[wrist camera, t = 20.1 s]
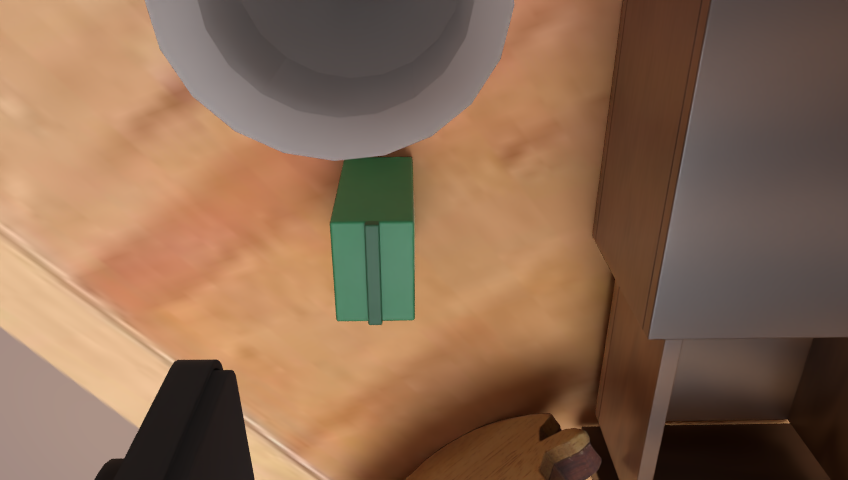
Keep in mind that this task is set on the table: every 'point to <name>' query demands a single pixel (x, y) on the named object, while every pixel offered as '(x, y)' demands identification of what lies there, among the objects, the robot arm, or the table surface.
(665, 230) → the cabinet
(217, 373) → the robot arm
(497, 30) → the chalice
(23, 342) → the table surface
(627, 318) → the drawer
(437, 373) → the table surface
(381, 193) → the green box with strap
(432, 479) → the wooden carving
